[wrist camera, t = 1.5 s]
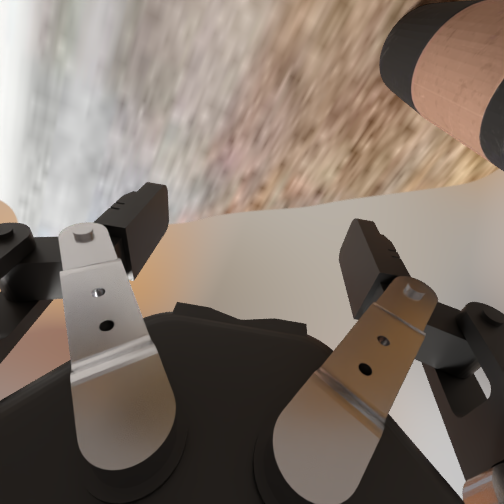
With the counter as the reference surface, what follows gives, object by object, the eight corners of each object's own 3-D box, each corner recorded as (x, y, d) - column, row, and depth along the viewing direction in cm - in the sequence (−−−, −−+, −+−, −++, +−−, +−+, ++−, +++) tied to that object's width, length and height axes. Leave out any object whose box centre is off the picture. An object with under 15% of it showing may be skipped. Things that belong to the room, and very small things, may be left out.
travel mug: (480, 8, 25) (811, 21, 10) (430, 102, 30) (599, 202, 15) (400, -10, 24) (627, -26, 9) (363, 89, 29) (470, 180, 14)
